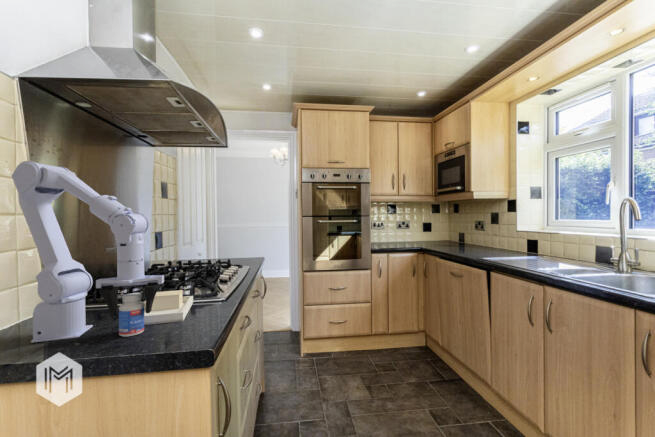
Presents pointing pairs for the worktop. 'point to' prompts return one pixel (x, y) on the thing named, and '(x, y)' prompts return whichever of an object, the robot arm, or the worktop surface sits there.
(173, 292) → the egg box
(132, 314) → the pill bottle
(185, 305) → the white tray
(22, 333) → the worktop surface
